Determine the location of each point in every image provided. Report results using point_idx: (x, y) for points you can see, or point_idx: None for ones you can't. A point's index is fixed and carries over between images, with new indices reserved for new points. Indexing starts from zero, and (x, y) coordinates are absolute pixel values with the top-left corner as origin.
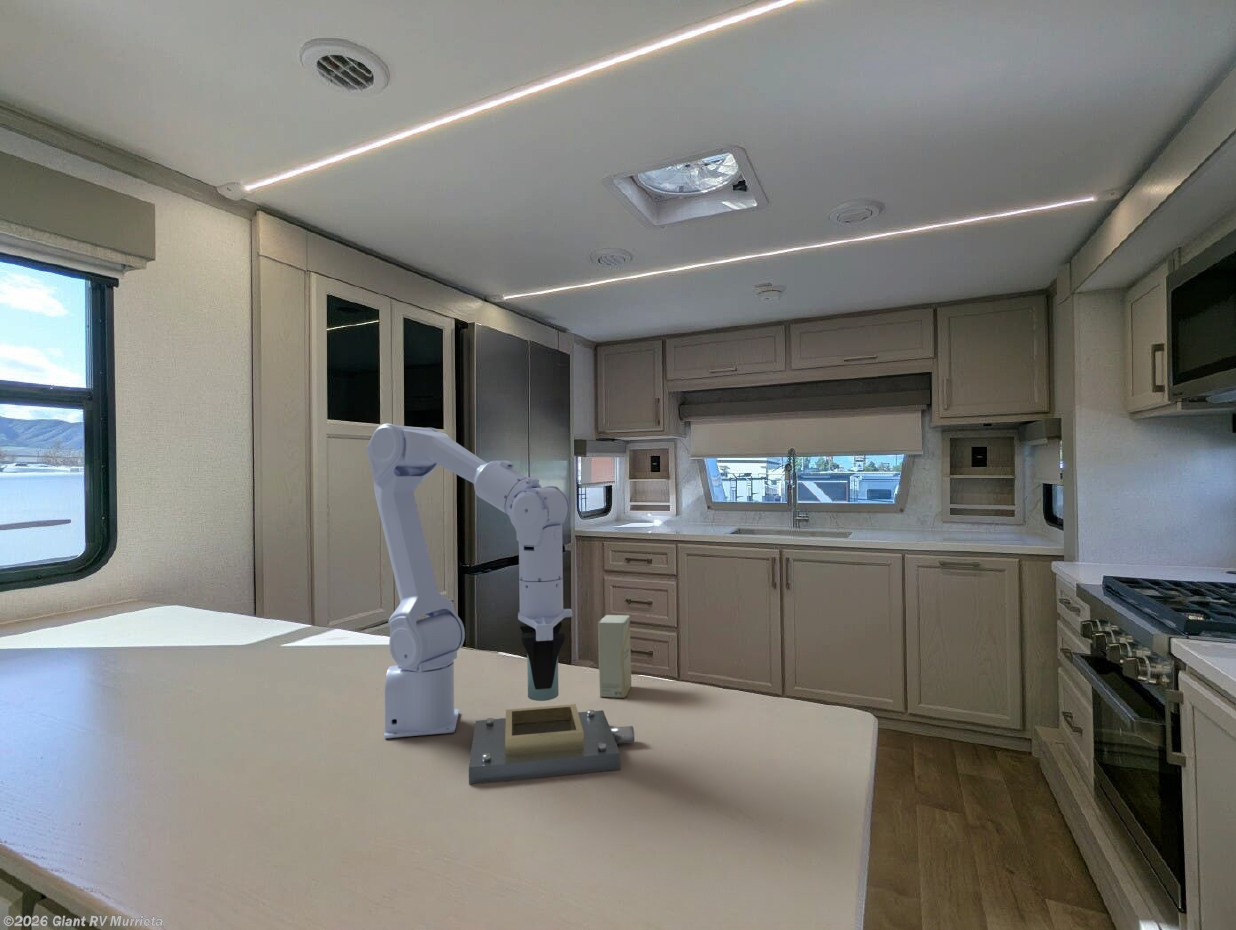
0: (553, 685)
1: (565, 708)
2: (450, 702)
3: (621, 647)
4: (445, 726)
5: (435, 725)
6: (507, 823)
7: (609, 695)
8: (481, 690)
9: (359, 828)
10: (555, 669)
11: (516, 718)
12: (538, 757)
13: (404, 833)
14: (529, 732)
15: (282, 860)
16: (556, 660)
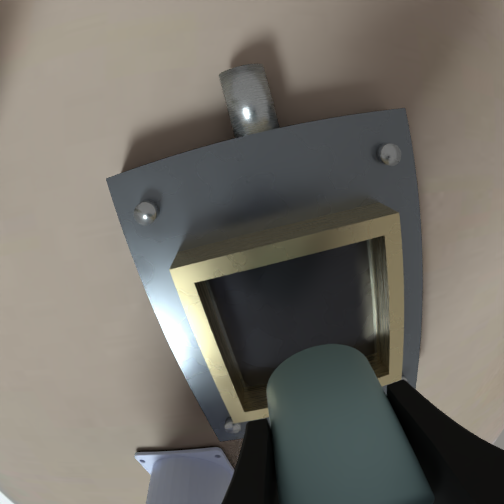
0: (374, 381)
1: (199, 295)
2: (191, 485)
3: None
4: (208, 459)
5: (222, 470)
6: (500, 287)
7: None
8: (42, 428)
9: (455, 418)
10: (387, 423)
11: (241, 392)
12: (410, 297)
13: (478, 381)
14: (290, 348)
15: (473, 432)
16: (480, 439)
